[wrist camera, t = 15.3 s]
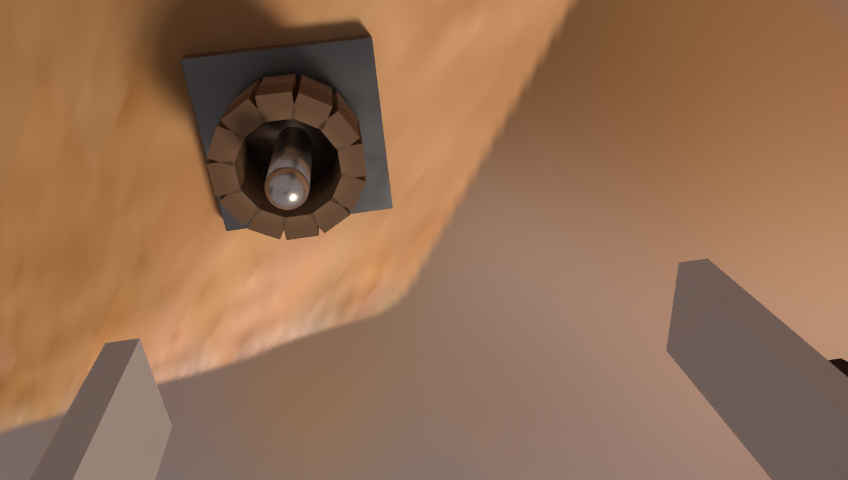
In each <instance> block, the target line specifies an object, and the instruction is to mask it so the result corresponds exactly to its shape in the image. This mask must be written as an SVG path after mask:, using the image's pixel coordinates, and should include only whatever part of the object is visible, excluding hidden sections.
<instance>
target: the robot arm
mask: <svg viewBox="0 0 848 480" xmlns="http://www.w3.org/2000/svg"><path fill="white" fill-rule="evenodd" d="M666 350H667V352H668V353H669V354H670V356H671V357H672V358H673V359H674V360H675V362H676V363H677V364H678V365H679V366H680V368H681V369H682V370H683V371H684V373H685V374H686V375H687V376H688V378H689V379H690V380H691V381H692V382H693V384H694V385H695V386H696V387H697V389H698V390H699V391H700V392H701V393H702V395H703V396H704V397H705V398H706V400H707V401H708V402H709V403H710V404H711V406H712V407H713V408H714V409H715V410H716V412H717V413H718V414H719V415H720V417H721V418H722V419H723V420H724V422H725V423H726V424H727V425H728V426H729V428H730V429H731V430H732V431H733V433H734V434H735V435H736V436H737V437H738V439H739V440H740V441H741V442H742V443H743V445H744V446H745V447H746V448H747V450H748V451H749V452H750V453H751V455H752V456H753V457H754V458H755V459H756V461H757V462H758V463H759V464H760V466H761V467H762V468H763V469H764V470H765V472H766V473H767V474H768V475H769V477H770V478H771V479H772V480H848V362H847V361H845V360H843V359H841V358H840V359H834V360H827V359H826V358H824V357H823V356H822V355H821V354H820V353H819V352H817V351H816V350H815V349H814V348H813V347H811V346H810V345H809V344H808V343H807V342H806V341H804V340H803V339H802V338H801V337H800V336H798V335H797V334H796V333H795V332H794V331H793V330H791V329H790V328H789V327H788V326H787V325H785V324H784V323H783V322H782V321H781V320H780V319H778V318H777V317H776V316H775V315H774V314H772V313H771V312H770V311H769V310H768V309H767V308H765V307H764V306H763V305H762V304H761V303H759V302H758V301H757V300H756V299H755V298H754V297H752V296H751V295H750V294H749V293H748V292H746V291H745V290H744V289H743V288H742V287H741V286H739V285H738V284H737V283H736V282H735V281H733V280H732V279H731V278H730V277H729V276H728V275H726V274H725V273H724V272H723V271H722V270H720V269H719V268H718V267H717V266H716V265H715V264H713V263H712V262H711V261H710V260H709V259H702V260H695V261H687V262H681V263H679V265H678V273H677V279H676V287H675V293H674V301H673V307H672V315H671V321H670V329H669V335H668V343H667V349H666ZM171 428H172V426H171V423H170V420H169V417H168V415H167V412H166V409H165V406H164V404H163V401H162V398H161V395H160V393H159V390H158V387H157V384H156V382H155V379H154V376H153V373H152V371H151V368H150V365H149V362H148V360H147V357H146V354H145V351H144V349H143V346H142V343H141V340H140V338H139V339H132V340H125V341H118V342H111V343H105V345H104V347H103V349H102V350H101V352H100V354H99V356H98V358H97V359H96V361H95V363H94V365H93V367H92V368H91V370H90V372H89V374H88V376H87V377H86V379H85V381H84V383H83V385H82V386H81V388H80V390H79V392H78V394H77V395H76V397H75V399H74V401H73V403H72V404H71V406H70V408H69V410H68V412H67V414H66V415H65V417H64V419H63V421H62V423H61V424H60V426H59V428H58V430H57V432H56V433H55V435H54V437H53V439H52V441H51V442H50V444H49V446H48V448H47V450H46V451H45V453H44V455H43V457H42V459H41V460H40V463H39V464H38V466H37V468H36V470H35V471H34V473H33V475H32V477H31V479H30V480H155V478H156V474H157V471H158V468H159V465H160V462H161V459H162V456H163V453H164V450H165V447H166V443H167V440H168V437H169V434H170V431H171Z"/></svg>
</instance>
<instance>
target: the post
mask: <svg viewBox="0 0 848 480" xmlns="http://www.w3.org/2000/svg"><path fill="white" fill-rule="evenodd" d="M180 60H181V64H182V68H183V71H184V75H185V79H186V83H187V86H188V90H189V94H190V97H191V101H192V105H193V109H194V112H195V116H196V120H197V123H198V127H199V131H200V135H201V138H202V142H203V146H204V149H205V153H206V157H207V155H208V152H209V149H210V146H211V143H212V140H213V136H214V133H215V130H216V127H217V125H218V123H219V122H220V120H221V118H222V117H223V115H224V113H225V111H226V110H227V108H228V106H229V105H230V104H231V102H232V101H233V99H234V98H235V97H237V96H238V95H239V94H240V93H242V92H243V91H244V90H245V89H247V88H248V87H249V86H250V85H252V84H253V83H254V82H256V81H257V80H258V81H259V82H260V83H261V82H262V80H263V78H264V77H271V76H280V75H288V74H296V78H297V83H298V84H299V82H300V79H301V76H302V75H304V76H307V77H309V78H312V79H314V80H316V81H319V82H321V83H323V84H326V85H328V86H331V87H332V95H333V94H334V93H335V92H337V91H338V93H339V94H340V95H341V97H342V98H343V99H344V100H345V102H346V103H347V104H348V105H349V107H350V108H351V109H352V111H353V112H354V113H355V114H356V116H357V121H359V125H360V131H361V137H362V143H363V150H364V158H365V165H366V172H367V176H365V177H366V184H365V186H364V188H363V190H362V193H361V195H360V197H359V199H358V202H357V204H356V206H355V208H354V210H352V209H349V210H350V214H353V213H360V212H368V211H375V210H382V209H389V208H393V207H392V199H391V190H390V182H389V174H388V166H387V158H386V149H385V141H384V133H383V125H382V117H381V108H380V100H379V92H378V84H377V76H376V67H375V59H374V51H373V43H372V37H371V35H367V36H358V37H349V38H340V39H331V40H322V41H313V42H305V43H296V44H287V45H278V46H269V47H260V48H251V49H242V50H233V51H225V52H216V53H207V54H198V55H189V56H184V57H183V58H181V59H180ZM245 142H246V146H247V151H248V155H249V159H250V162H251V163H252V164H253V165H254V166H255V167H256V168H257V170H258V171H259V172H260V173H261V174H262V175H263V176H264V177H265V178H266V181H265V194H266V196H267V198H268V200H269V201H270V202H271V203H272V204H273V205H274V206H276V207H277V208H280V209H284V210H291V209H295V208H297V207H299V206H301V205H302V204H303V203H304V202H305V201H306V199H307V197H308V195H309V190H310V185H313V184H314V183H316V182H317V181H318V180H320V179H321V178H323V177H324V176H325V175H327V174H328V173H329V172H331V171H332V169H333V166H334V164H335V161H336V159H337V156H338V150H337V149H336V148H335V147H334V146H333V144H332V143H331V142H330V141H329V140H328V138H327V137H326V136H325V135H324V134H323V132H322V131H321V130H320V129H318V128H316V127H313V126H311V125H308V124H306V123H303V122H300V121H298V120H295V119H285V120H277V121H269V122H264V123H262V124H261V125H260V126H258V127H257V128H256V129H255V130H253V131H252V132H251V133H249V134H248V135H247V136H246V137H245ZM208 160H209V158H207V161H208ZM220 197H221V195H219V196H217V198H218V201H219V199H220ZM219 205H220V209H221V213H222V216H223V220H224V224H225V227H226V231H230V230H237V229H245V228H248V227H249V224H250V220H251V219H250V220H249V221H248V222H246V223H245V224H244V225H241V224H240V223H239V222H238V221H237V220H236V219H235V218H234V217H233V216H232V215H231V214H230V213H229V212H228V211H227V210H226V209H225V208H224V207H223V206H222V205H221V204H220V203H219Z"/></svg>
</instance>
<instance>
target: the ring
mask: <svg viewBox="0 0 848 480" xmlns="http://www.w3.org/2000/svg"><path fill="white" fill-rule="evenodd" d="M285 119H295V120H298V121H300V122H303V123H306V124H308V125H311V126H313V127H316V128H318V129H320V130H321V131H322V132H323V134H324V135H325V136H326V137H327V138H328V140H329V141H330V142H331V143H332V144H333V146H334V147H335V148H336V149H337V150H338V156H337V159H336V161H335V164H334V166H333V169H332V171H331V172H329V173H328V174H327V175H325V176H324V177H323V178H321V179H320V180H318V181H317V182H316V183H314V184H313V185H310V190H309V195H308V197H307V199H306V201H305V202H304V203H303V204H302V205H301V206H299V207H297V208H295V209H291V210H284V209H280V208H277V207H276V206H274V205H273V204H272V203H271V202H270V201H269V200H268V198H267V196H266V194H265V181H266V178H265V177H264V176H263V175H262V174H261V173H260V172H259V171H258V170H257V168H256V167H255V166H254V165H253V164H252V163H251V162H250V159H249V155H248V151H247V146H246V142H245V137H246V136H247V135H248V134H249V133H251V132H252V131H253V130H255V129H256V128H257V127H258V126H260V125H261V124H262V123H264V122H269V121H277V120H285ZM207 158H209V160H208V162H207V168H208V171H209V175H210V179H211V182H212V186H213V190H214V193H215V196H219V195H221V197H220V199H219V203H220V204H221V205H222V206H223V207H224V208H225V209H226V210H227V211H228V212H229V213H230V214H231V215H232V216H233V217H234V218H235V219H236V220H237V221H238V222H239V223H240V224H241V225H244V224H245V223H246V222H248V221H249V220H250V219H251V220H250V224H249V227H248V229H250V230H253V231H256V232H259V233H262V234H265V235H268V236H271V237H274V238H277V239H280V238H281V235H282V233H283V230H284V231H285V236H286V240H290V239H297V238H304V237H312V236H319V228H320V229H321V230H322V231H323V232H324V233H325V232H327V231H328V230H330V229H331V228H332V227H334V226H335V225H337V224H338V223H339V222H341V221H342V220H343V219H345V218H346V217H348V216H349V215H350V210H349V209H352V210H354V208H355V206H356V204H357V202H358V199H359V197H360V195H361V193H362V190H363V188H364V186H365V184H366V177H365V176H367V172H366V165H365V158H364V150H363V143H362V137H361V131H360V125H359V121H357V116H356V114H355V113H354V112H353V111H352V109H351V108H350V107H349V105H348V104H347V103H346V102H345V100H344V99H343V98H342V97H341V95H340V94H339V93H338V91H337V92H335V93H334V94H333V95H332V87H331V86H328V85H326V84H323V83H321V82H319V81H316V80H314V79H312V78H309V77H307V76H304V75H302V76H301V79H300V82H299V84H298V83H297V78H296V74H288V75H280V76H271V77H264V78H263V80H262V82H261V83H260V82H259V81H258V80H257V81H256V82H254V83H253V84H252V85H250V86H249V87H248V88H247V89H245V90H244V91H243V92H242V93H240V94H239V95H238V96H237V97H235V98H234V99H233V101H232V102H231V104H230V105H229V106H228V108H227V110H226V111H225V113H224V115H223V117H222V118H221V120H220V122H219V123H218V125H217V127H216V130H215V133H214V136H213V140H212V143H211V146H210V149H209V152H208V155H207Z"/></svg>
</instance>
